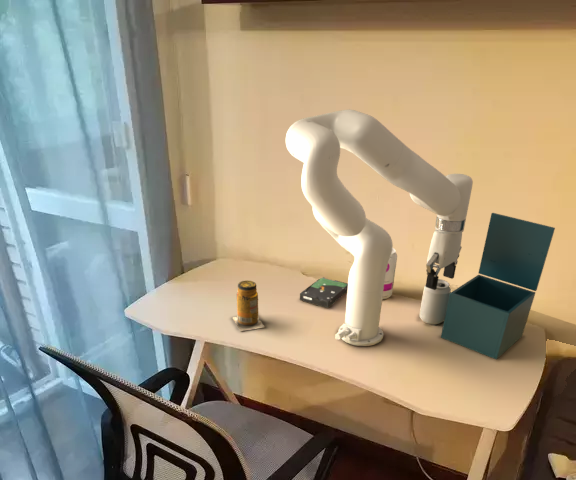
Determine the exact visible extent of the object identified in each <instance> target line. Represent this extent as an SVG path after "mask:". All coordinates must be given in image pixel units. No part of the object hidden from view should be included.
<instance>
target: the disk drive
mask: <svg viewBox="0 0 576 480" xmlns="http://www.w3.org/2000/svg"><path fill="white" fill-rule="evenodd" d="M347 290H348V282H343V281H340V280H335V279H329V278H326V277H324V276H323V277H320V278H318V279H317V280H316V281H314V282H313V283H312V284H310V285H309V286H308V287H306V288H305V289H304V290H301V292H300V293H299V301H302V302H304V303H308V304H311V305H315V306H318V307H321V308H325V309H326V308H327V309H329V308H330V307H332V306H333V305H335V303H336V302H337V301H338V300H340V299H341V298H342V297H343V296H345V294H347Z"/></svg>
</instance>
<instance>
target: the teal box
mask: <svg viewBox="0 0 576 480" xmlns="http://www.w3.org/2000/svg"><path fill="white" fill-rule="evenodd" d="M536 293H537V291H533V290H530V289H527V288H524V287H520V286H517V285H514V284H511V283H508V282H504V281H501V280H498V279H495V278H492V277H488V276H485V275H482V274H476V275H475V276H474V277H472V278H471V279H469V280H467V281H466V282H465V283H463V284H462V285H460V286H459V287H457V288H456V289H454V290H453V291H451V292H450V296H449V300H448V305H447V310H446V315H445V320H444V321H443V326H442V329H441V335H440V338H441V339H443V340H446V341H449V342H451V343H453V344H454V343H455V344H456V345H459V346H462V347H464V348H467V349H469V350H471V351H474V352H476V353H479V354H481V355H483V356H486V357H489V358H492V359H494V360H498V359H499V358H500V357H501V356H502V355H503V354H505V352H507V351H508V350H509V349H510V348H511V347H512V346H514V345H515V344H516V342H518V341H519V340H520V339H521V338H522V337H523V335H524V331H525V329H526V325H527V321H528V318H529V315H530V312H531V309H532V306H533V302H534V300H535V295H536Z"/></svg>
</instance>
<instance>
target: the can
mask: <svg viewBox="0 0 576 480" xmlns="http://www.w3.org/2000/svg"><path fill="white" fill-rule="evenodd" d="M450 285H451V284H450V282H448V281H447V280H445V279H442V278H438V284H437V289H436V290H433V289H430V288H427V287H426V284H424V287H423V292H422V297H421V302H420V303H421V304H420V309H419V315H418V316H419V319H420V320H421V321H422V322H423V323H425V324H427V325H433V326H434V325H440V324H441V323H444V320H445V315H446V310H447V305H448V300H449V296H450V293H451V292H452V288H451V287H450Z"/></svg>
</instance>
